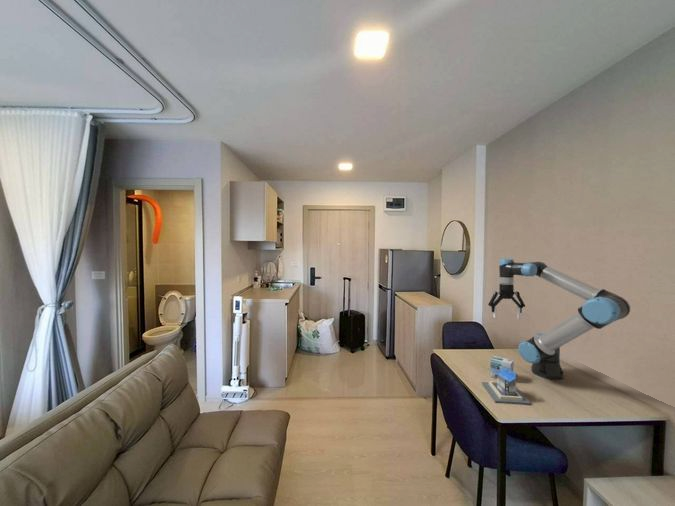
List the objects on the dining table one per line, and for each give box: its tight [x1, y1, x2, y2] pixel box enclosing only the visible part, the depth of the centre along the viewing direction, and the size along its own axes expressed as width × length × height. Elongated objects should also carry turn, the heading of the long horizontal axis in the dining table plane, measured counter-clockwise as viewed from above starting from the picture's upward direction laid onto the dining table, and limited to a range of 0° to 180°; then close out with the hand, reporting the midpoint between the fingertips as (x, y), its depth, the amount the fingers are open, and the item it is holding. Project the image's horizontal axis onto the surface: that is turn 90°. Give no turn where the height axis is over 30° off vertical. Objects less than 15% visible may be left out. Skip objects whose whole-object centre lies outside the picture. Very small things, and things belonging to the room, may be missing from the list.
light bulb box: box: [490, 355, 514, 379], centre depth 157 cm, size 11×7×11 cm, turn 47°
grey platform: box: [481, 380, 532, 406], centre depth 140 cm, size 16×18×2 cm
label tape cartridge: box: [496, 366, 517, 396], centre depth 139 cm, size 9×4×12 cm, turn 6°
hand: (506, 317), depth 167 cm, fingers open, 13 cm apart
